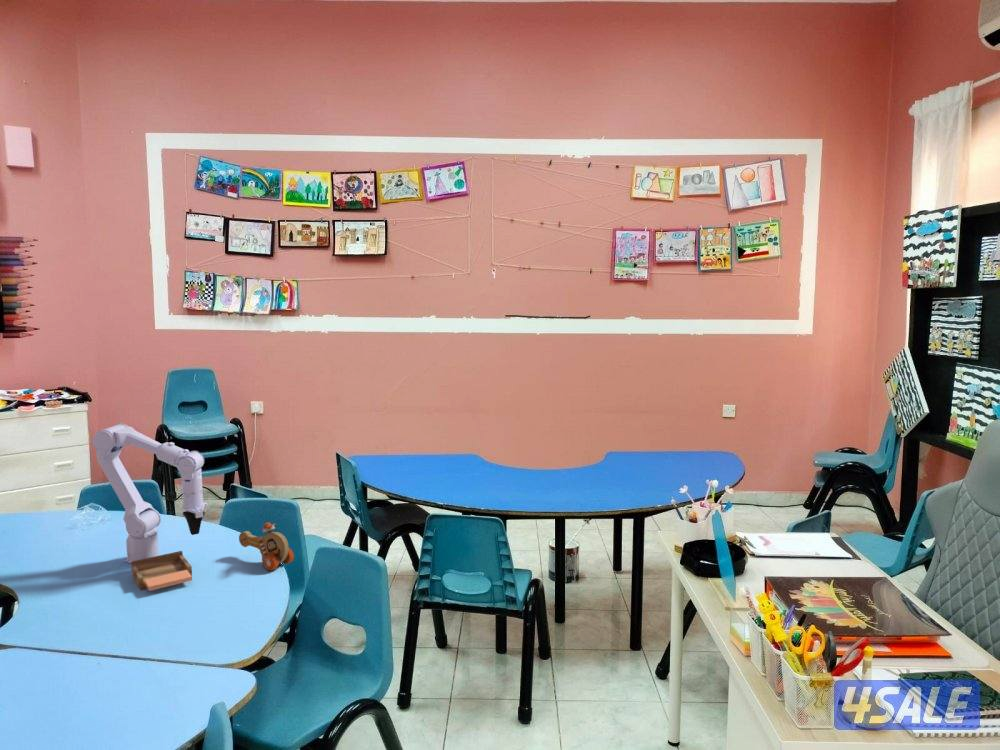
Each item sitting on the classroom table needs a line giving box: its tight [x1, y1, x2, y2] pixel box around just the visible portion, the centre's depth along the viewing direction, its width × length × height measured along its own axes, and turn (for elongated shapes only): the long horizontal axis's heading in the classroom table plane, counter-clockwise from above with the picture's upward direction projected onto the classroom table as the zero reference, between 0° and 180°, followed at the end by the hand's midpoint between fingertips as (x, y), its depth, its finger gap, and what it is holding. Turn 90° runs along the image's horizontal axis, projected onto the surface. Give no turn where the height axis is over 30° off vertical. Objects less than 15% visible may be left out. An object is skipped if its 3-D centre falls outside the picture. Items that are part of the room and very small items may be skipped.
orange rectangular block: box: [145, 570, 193, 591], centre depth 199 cm, size 1×11×6 cm
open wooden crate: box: [130, 550, 193, 591], centre depth 205 cm, size 12×14×4 cm
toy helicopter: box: [238, 522, 295, 572], centre depth 216 cm, size 8×21×14 cm, turn 60°
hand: (194, 533), depth 215 cm, fingers closed
